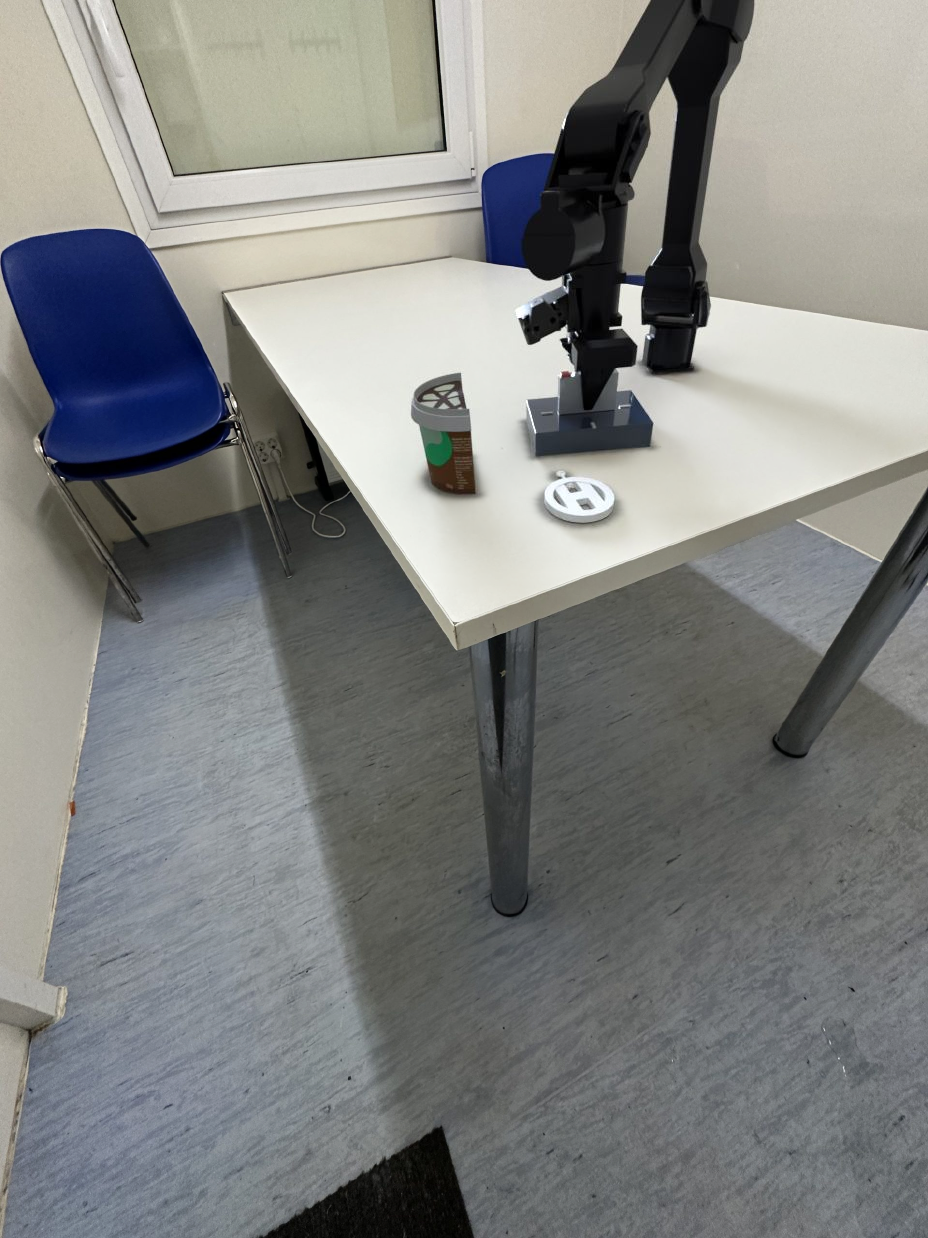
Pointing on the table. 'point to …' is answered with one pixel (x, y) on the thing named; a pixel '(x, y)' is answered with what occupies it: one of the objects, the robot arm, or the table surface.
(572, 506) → the pendant
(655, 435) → the table surface
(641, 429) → the tap base
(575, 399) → the gray bar
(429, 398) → the food container
